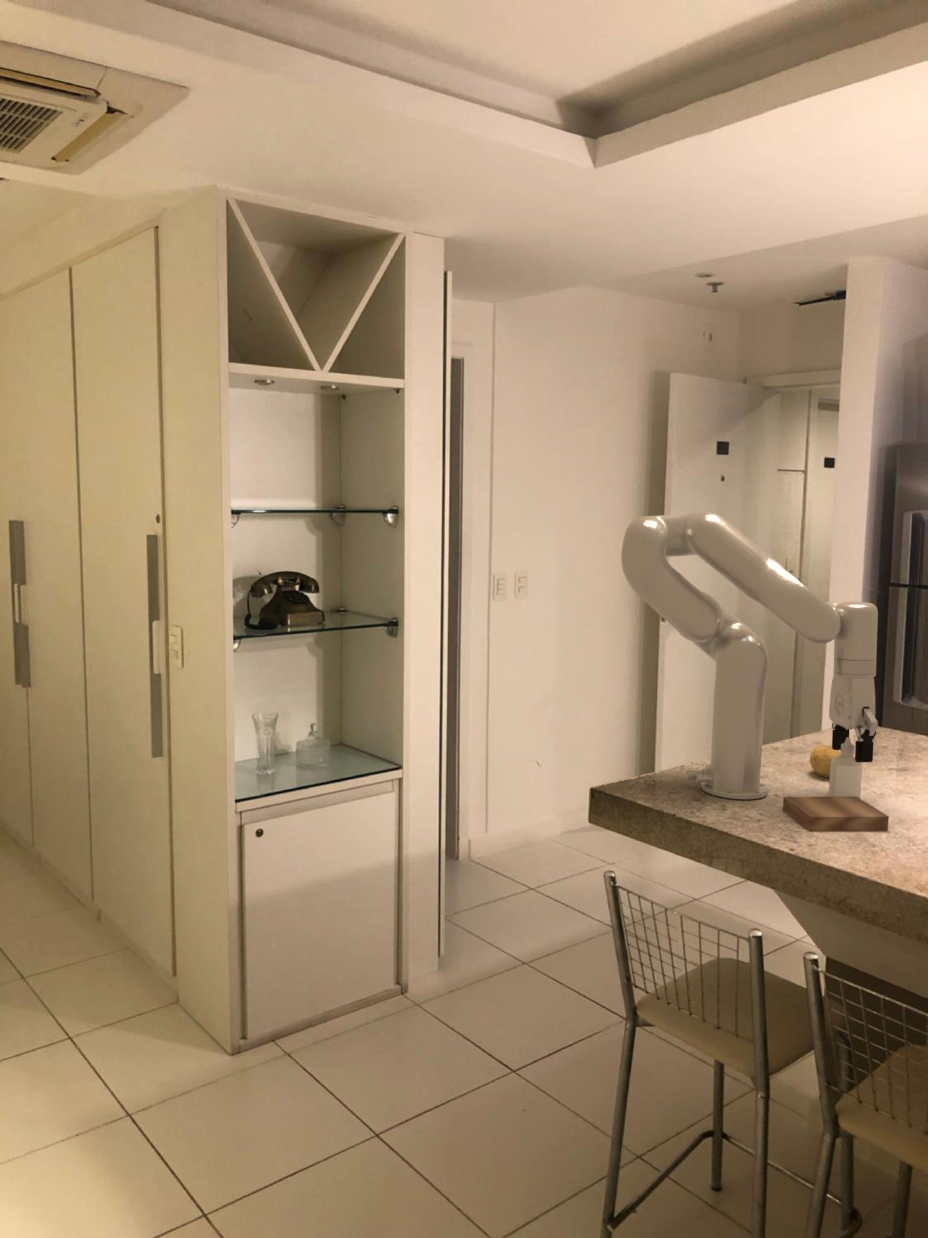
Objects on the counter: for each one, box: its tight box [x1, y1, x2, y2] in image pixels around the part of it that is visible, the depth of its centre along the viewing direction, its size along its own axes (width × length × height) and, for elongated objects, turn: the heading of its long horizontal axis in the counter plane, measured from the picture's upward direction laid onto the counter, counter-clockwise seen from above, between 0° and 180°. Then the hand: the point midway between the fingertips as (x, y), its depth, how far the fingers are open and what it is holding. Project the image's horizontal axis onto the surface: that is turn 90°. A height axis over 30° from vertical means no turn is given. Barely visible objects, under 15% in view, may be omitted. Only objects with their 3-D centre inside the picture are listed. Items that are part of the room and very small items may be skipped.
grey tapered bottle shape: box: [828, 736, 863, 799], centre depth 196 cm, size 4×6×12 cm
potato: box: [809, 744, 841, 779], centre depth 214 cm, size 7×11×6 cm, turn 157°
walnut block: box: [782, 796, 889, 832], centre depth 183 cm, size 14×12×3 cm
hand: (851, 755), depth 196 cm, fingers open, 9 cm apart
